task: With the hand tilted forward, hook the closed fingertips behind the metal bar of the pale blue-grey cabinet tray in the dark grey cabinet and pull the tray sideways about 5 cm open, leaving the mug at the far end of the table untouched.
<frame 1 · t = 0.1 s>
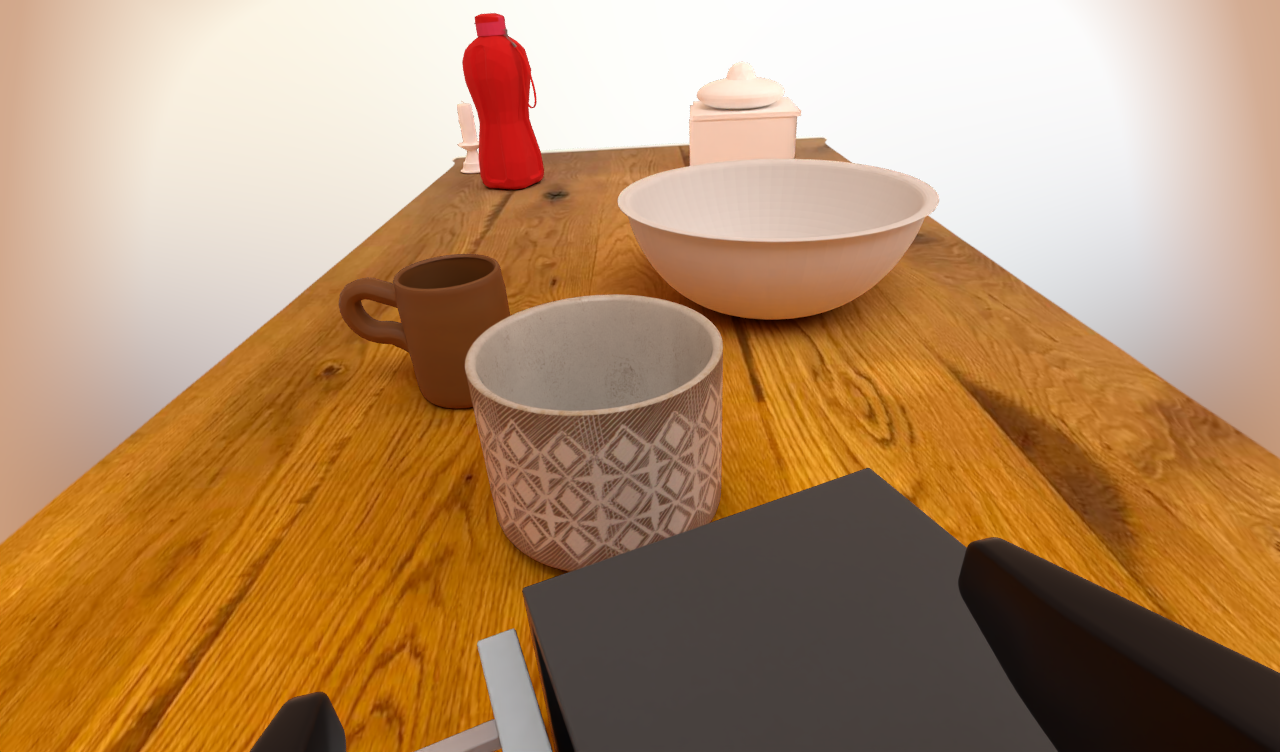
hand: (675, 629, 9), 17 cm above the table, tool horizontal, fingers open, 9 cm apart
bowl: (766, 298, 62), on the table
planter: (610, 506, 37), on the table
candle: (475, 171, 119), on the table
mug: (443, 389, 50), on the table
pink lidded box: (740, 159, 116), on the table
water bottle: (518, 185, 108), on the table
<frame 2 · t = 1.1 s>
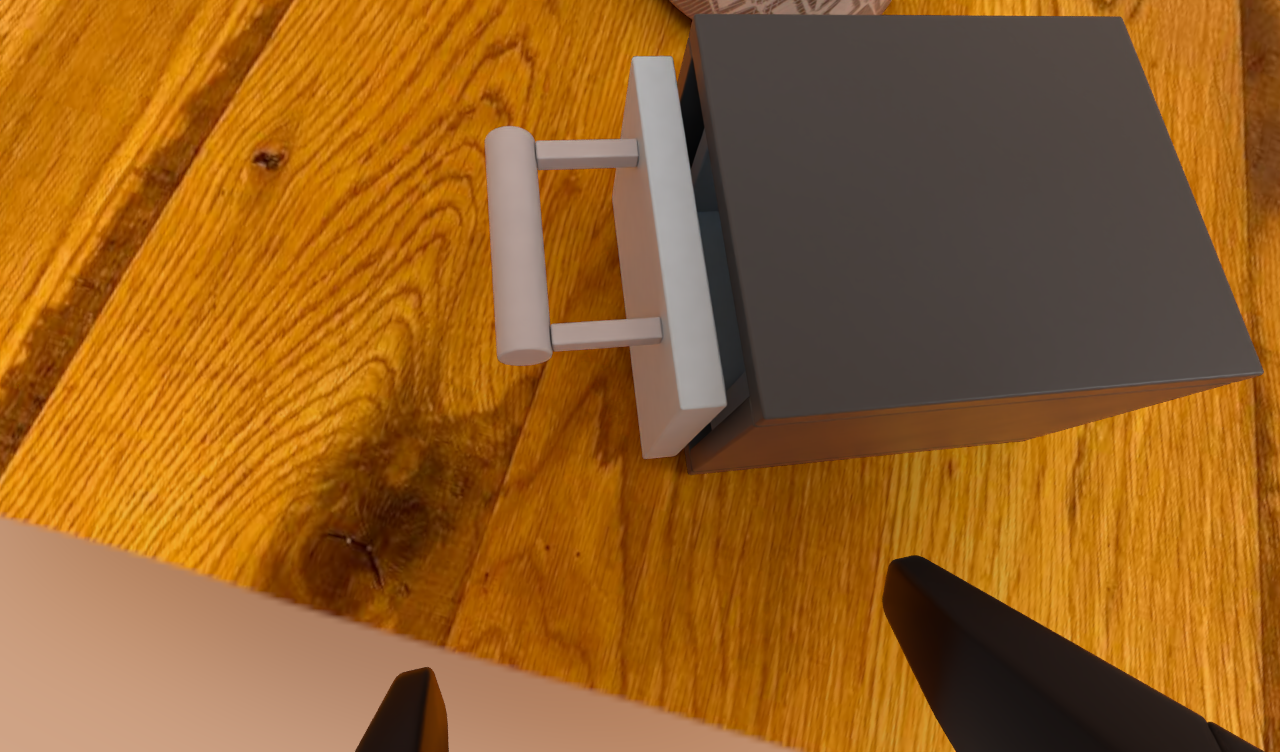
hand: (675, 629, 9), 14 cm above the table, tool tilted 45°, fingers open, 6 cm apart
drawer: (762, 270, 21), point 5 cm above the table, slide at 0.5 cm
dark grey cabinet: (832, 315, 26), on the table
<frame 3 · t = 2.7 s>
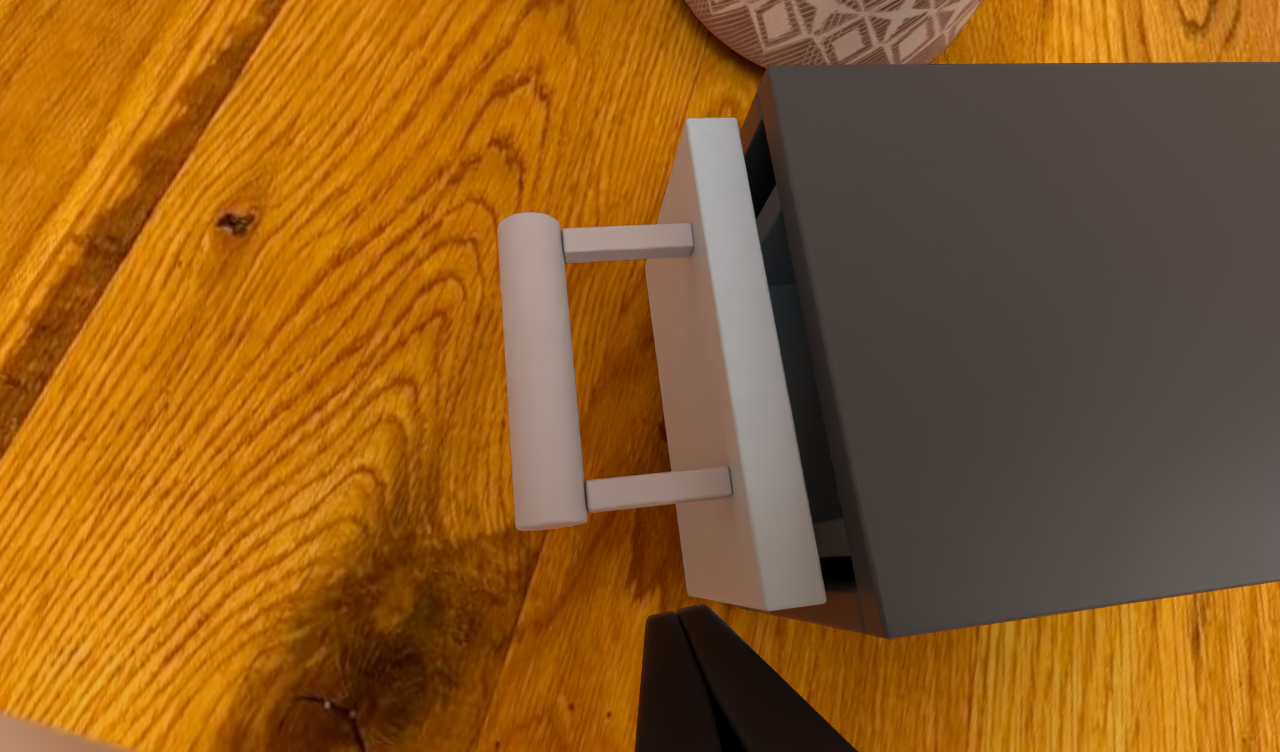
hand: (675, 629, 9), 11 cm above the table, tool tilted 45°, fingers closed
drawer: (838, 374, 17), point 5 cm above the table, slide at 0.5 cm
dark grey cabinet: (904, 403, 22), on the table
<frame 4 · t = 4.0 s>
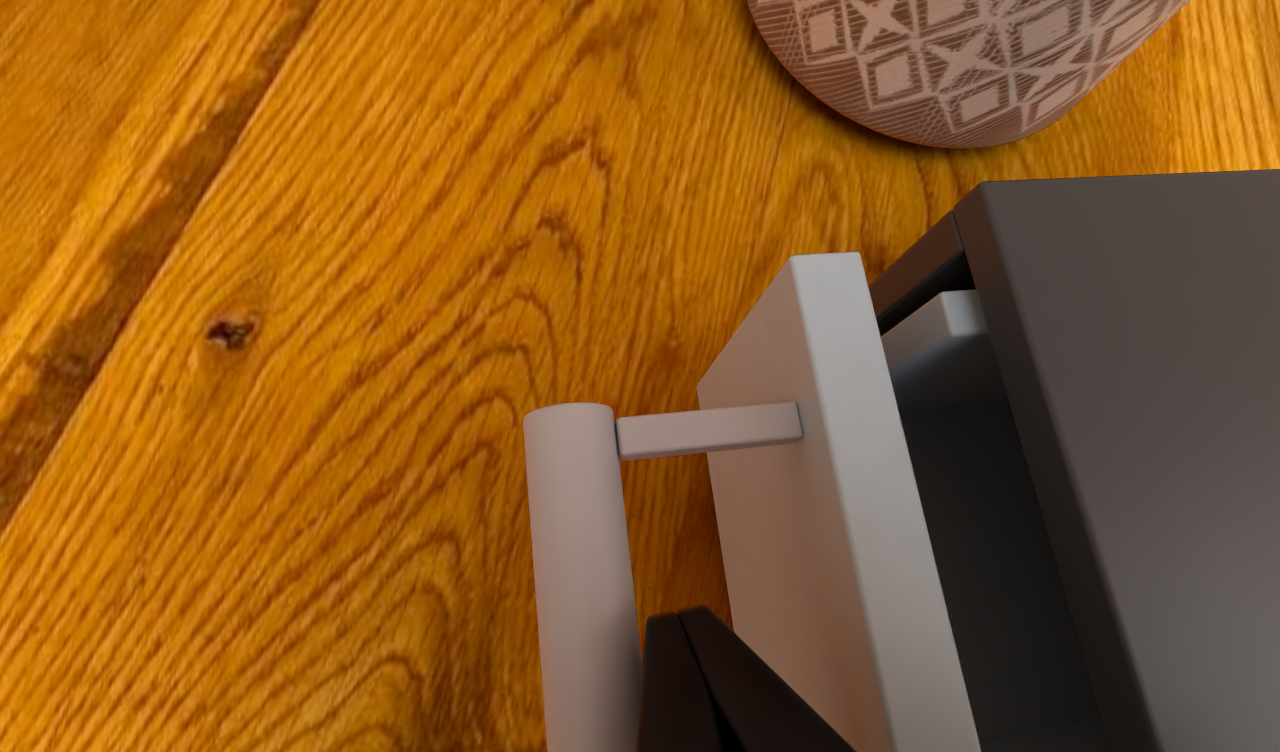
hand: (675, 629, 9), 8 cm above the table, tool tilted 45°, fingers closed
planter: (901, 22, 23), on the table
drawer: (974, 568, 13), point 5 cm above the table, slide at 1.6 cm
dark grey cabinet: (1055, 544, 18), on the table
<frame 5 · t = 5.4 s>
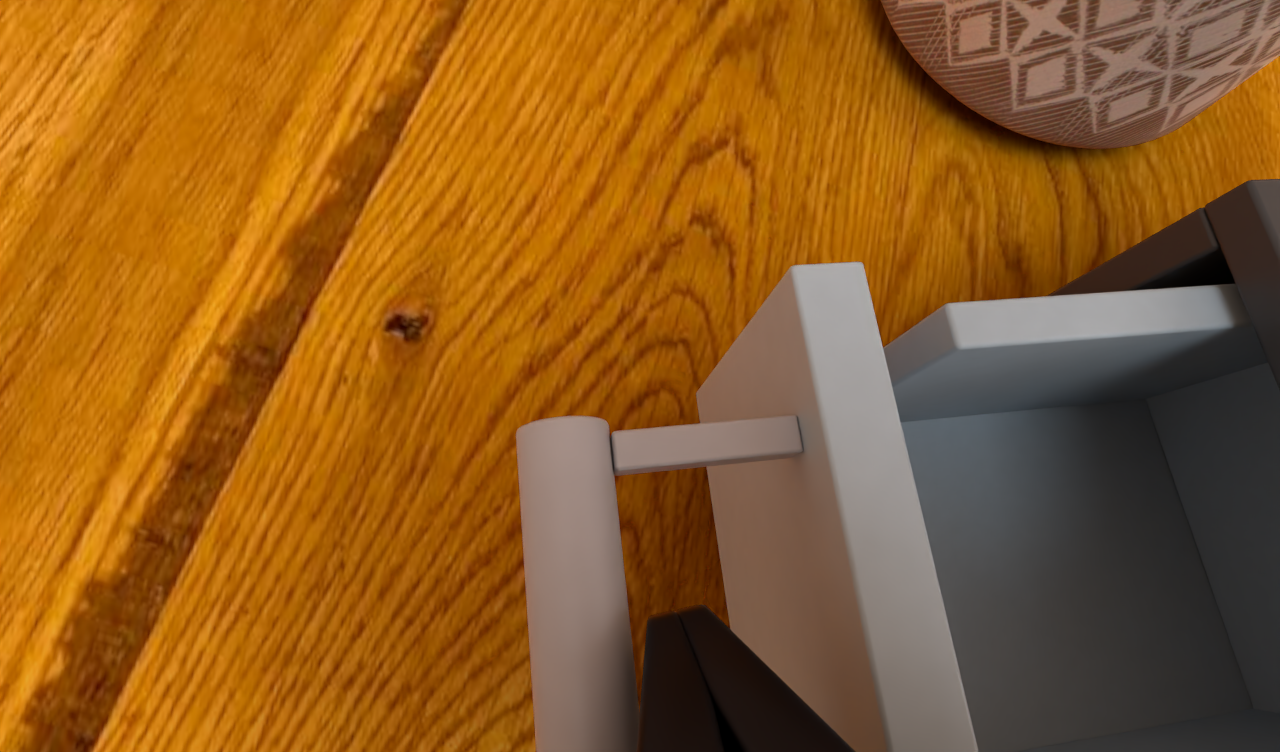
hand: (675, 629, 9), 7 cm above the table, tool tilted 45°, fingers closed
planter: (1021, 24, 23), on the table
drawer: (978, 583, 12), point 5 cm above the table, slide at 6.2 cm, touching gripper
dark grey cabinet: (1203, 536, 18), on the table
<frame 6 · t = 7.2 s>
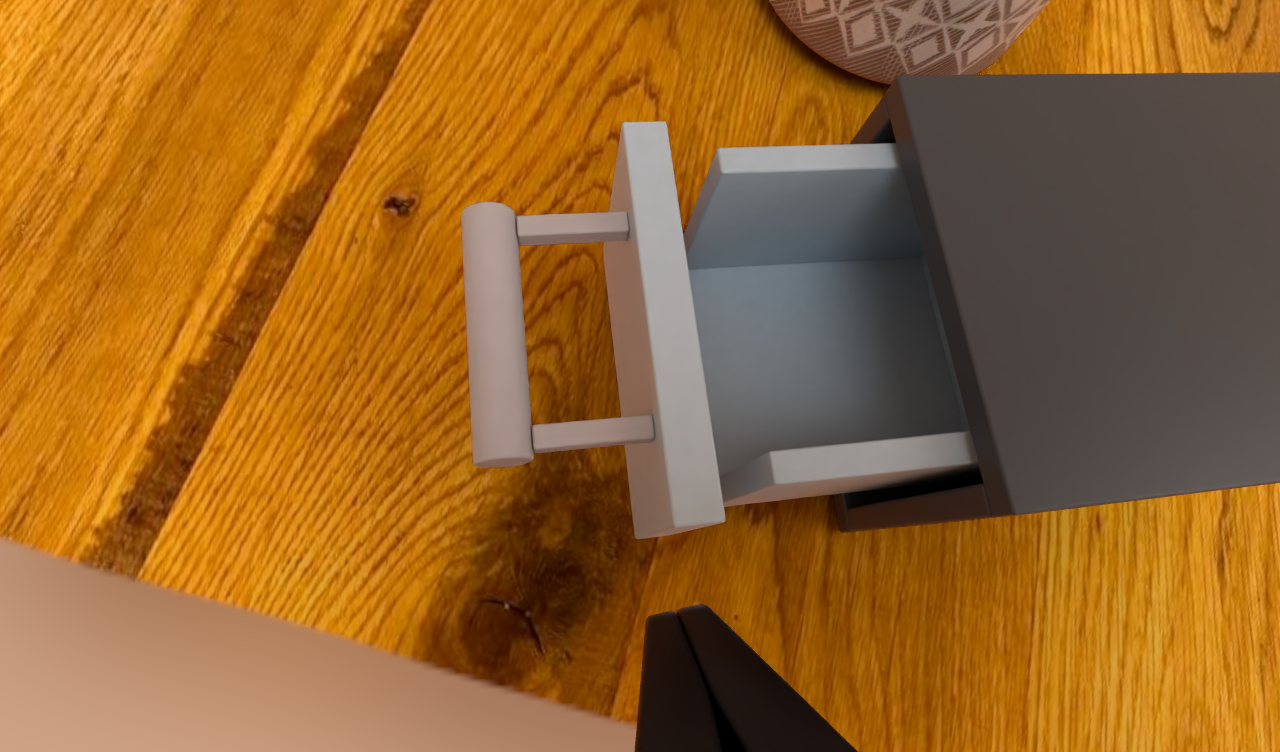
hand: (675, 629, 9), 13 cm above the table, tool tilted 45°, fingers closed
drawer: (762, 343, 19), point 5 cm above the table, slide at 6.2 cm
dark grey cabinet: (972, 362, 25), on the table
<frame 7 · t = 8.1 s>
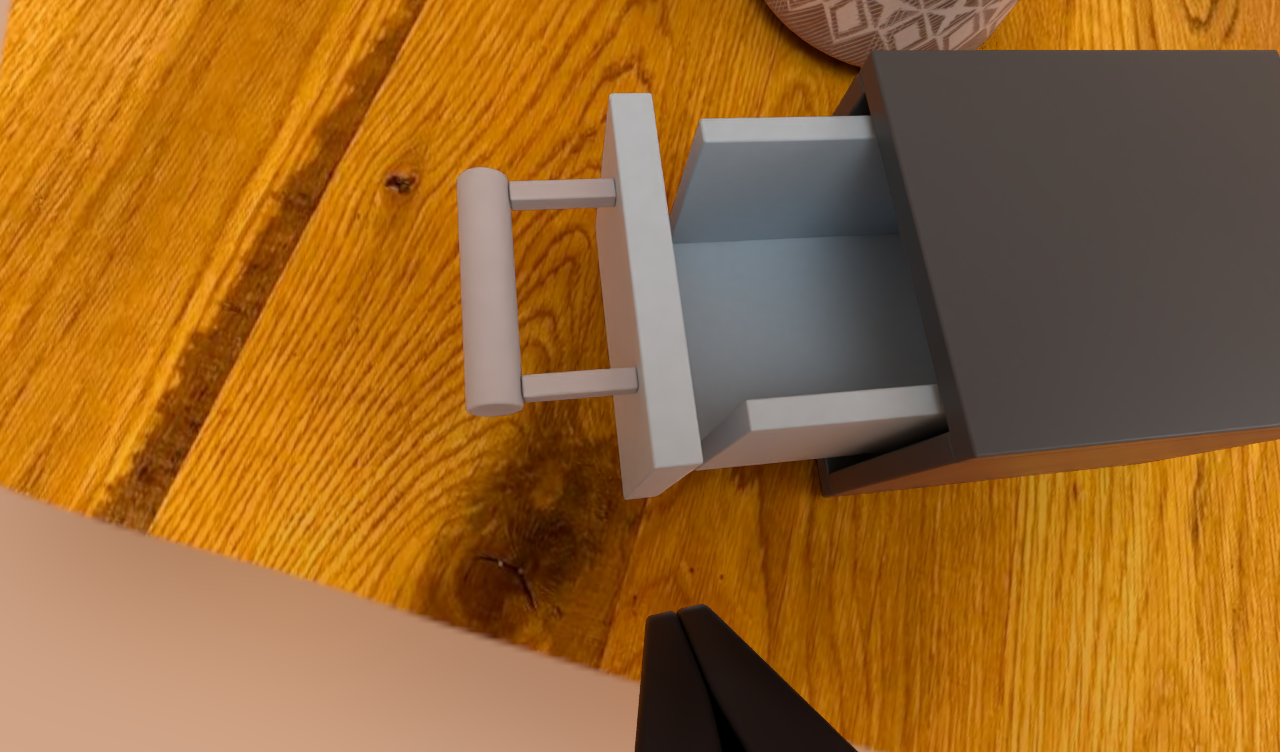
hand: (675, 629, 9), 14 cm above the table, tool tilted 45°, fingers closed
drawer: (745, 309, 20), point 5 cm above the table, slide at 6.2 cm
dark grey cabinet: (953, 337, 26), on the table
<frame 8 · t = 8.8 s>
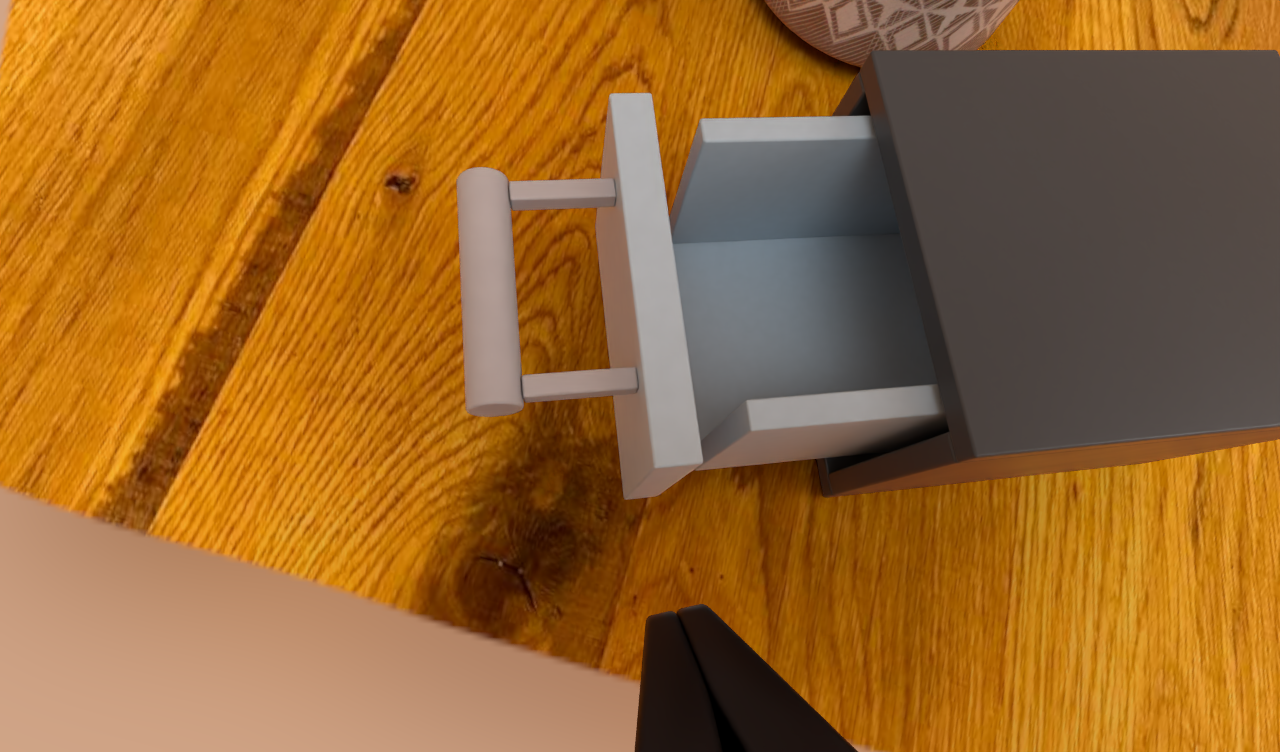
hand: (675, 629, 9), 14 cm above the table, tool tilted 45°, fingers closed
drawer: (745, 309, 20), point 5 cm above the table, slide at 6.2 cm
dark grey cabinet: (953, 337, 26), on the table
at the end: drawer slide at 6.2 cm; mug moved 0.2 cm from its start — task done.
